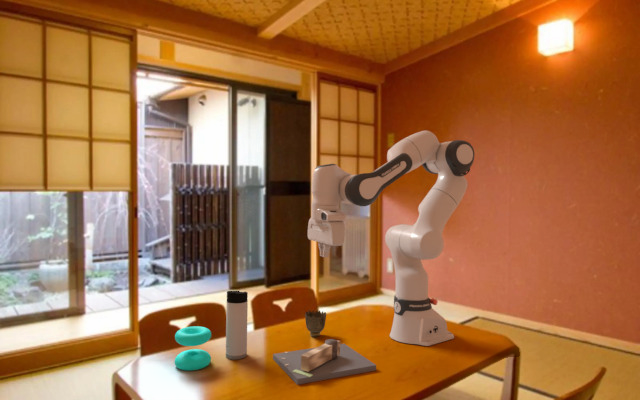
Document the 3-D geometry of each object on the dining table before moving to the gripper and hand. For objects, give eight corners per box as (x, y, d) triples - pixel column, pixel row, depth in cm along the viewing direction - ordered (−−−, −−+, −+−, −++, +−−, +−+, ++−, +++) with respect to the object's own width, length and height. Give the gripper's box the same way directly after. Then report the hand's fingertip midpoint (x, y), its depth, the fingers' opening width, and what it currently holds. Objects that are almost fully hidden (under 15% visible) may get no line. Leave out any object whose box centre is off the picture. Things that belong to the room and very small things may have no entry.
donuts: (194, 338, 119) (167, 332, 124) (193, 375, 120) (166, 367, 124) (218, 328, 128) (192, 323, 133) (218, 362, 129) (192, 356, 133)
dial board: (344, 348, 142) (344, 343, 142) (376, 370, 125) (376, 364, 125) (273, 359, 132) (273, 353, 132) (297, 385, 115) (297, 378, 114)
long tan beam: (331, 352, 133) (331, 337, 133) (341, 354, 131) (341, 339, 131) (299, 369, 120) (299, 352, 120) (310, 372, 118) (310, 355, 118)
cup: (323, 340, 149) (324, 316, 149) (302, 338, 151) (302, 315, 151) (327, 333, 157) (328, 310, 157) (307, 331, 158) (307, 309, 158)
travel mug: (221, 358, 132) (222, 291, 131) (232, 350, 138) (233, 286, 138) (239, 361, 130) (240, 293, 129) (250, 353, 136) (251, 288, 135)
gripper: (303, 212, 151) (302, 252, 151) (330, 215, 133) (329, 261, 133) (320, 212, 154) (319, 252, 154) (348, 215, 135) (347, 260, 136)
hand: (324, 256), depth 143 cm, fingers closed
